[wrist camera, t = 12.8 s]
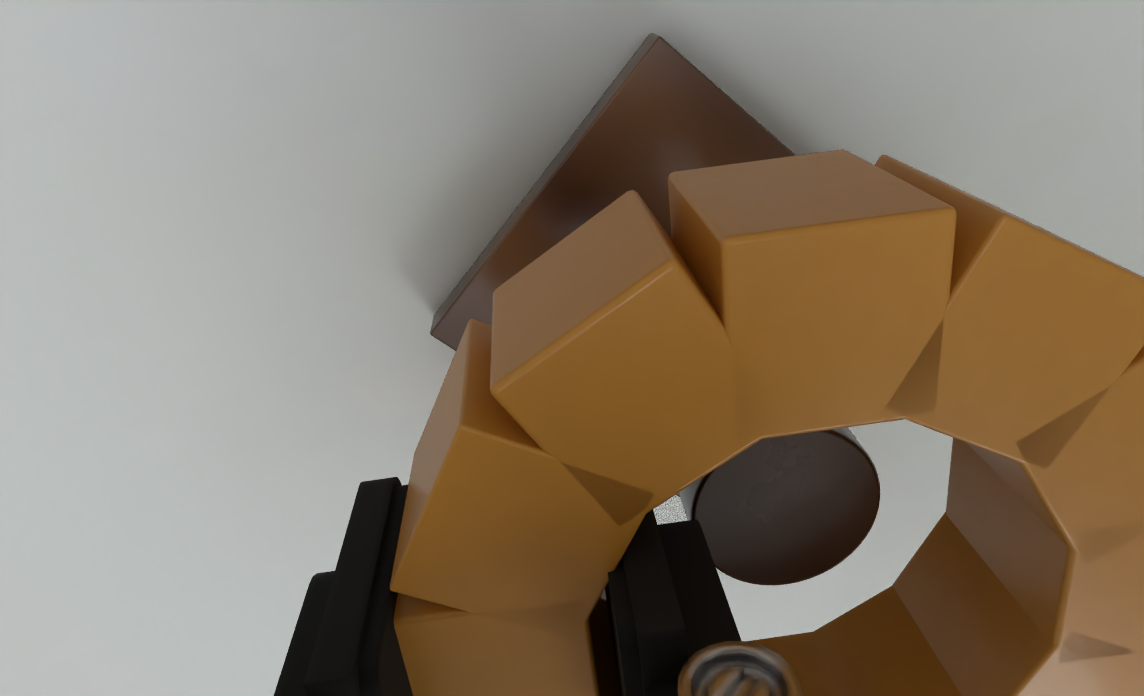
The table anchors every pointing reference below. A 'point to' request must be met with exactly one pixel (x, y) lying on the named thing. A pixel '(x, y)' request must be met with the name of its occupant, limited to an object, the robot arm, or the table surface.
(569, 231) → the post
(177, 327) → the table surface
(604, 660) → the ring
